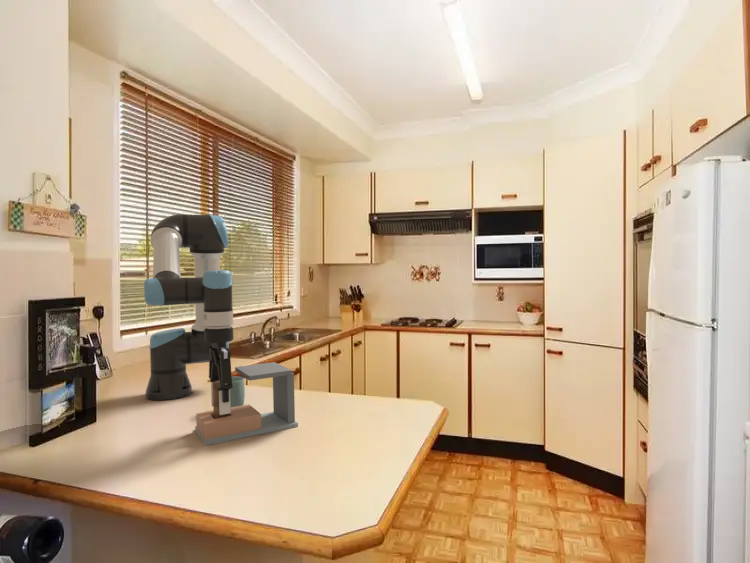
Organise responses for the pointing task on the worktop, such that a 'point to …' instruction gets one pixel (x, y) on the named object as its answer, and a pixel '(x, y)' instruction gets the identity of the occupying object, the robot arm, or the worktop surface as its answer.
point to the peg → (216, 401)
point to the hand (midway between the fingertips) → (220, 409)
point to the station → (246, 417)
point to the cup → (237, 391)
